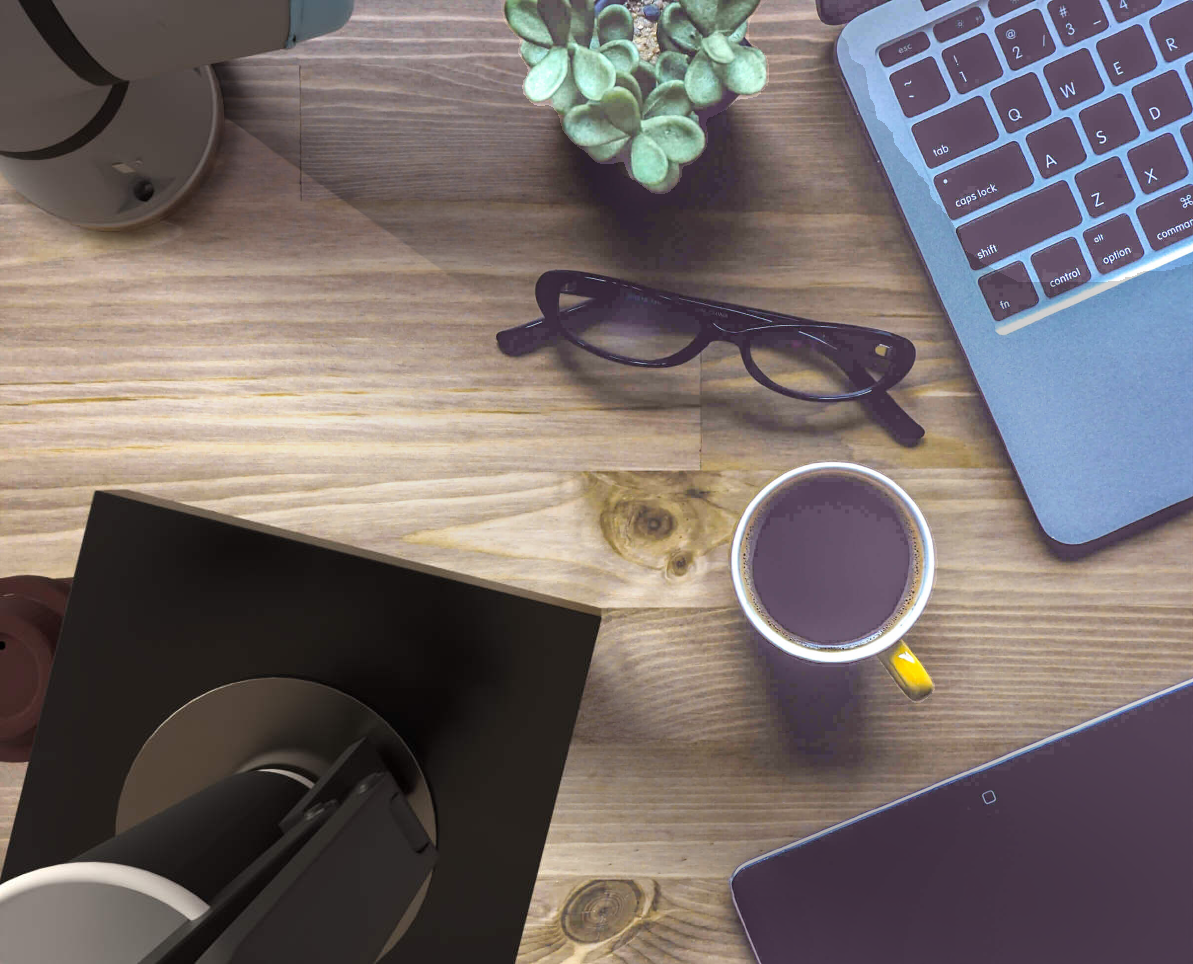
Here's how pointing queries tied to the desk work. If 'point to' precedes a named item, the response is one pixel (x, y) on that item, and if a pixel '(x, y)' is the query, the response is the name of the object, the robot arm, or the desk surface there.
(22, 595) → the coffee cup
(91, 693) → the stove
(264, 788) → the dixie cup
